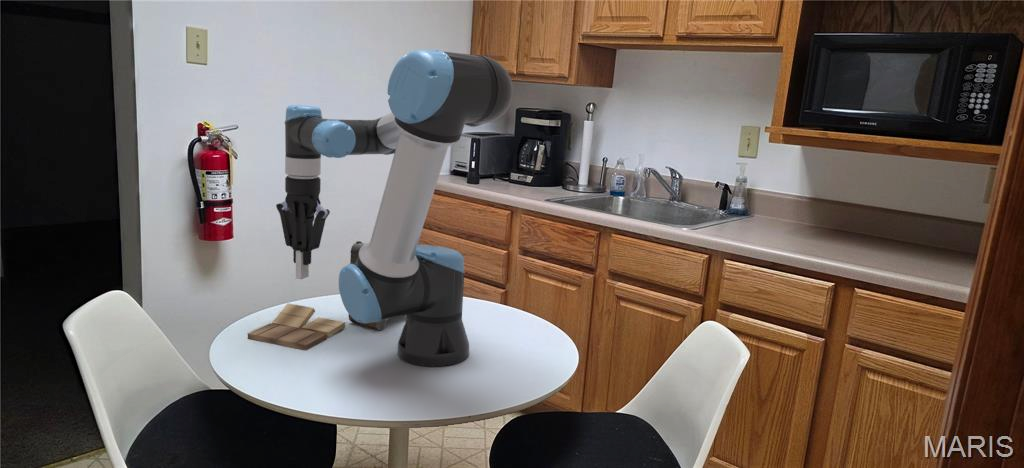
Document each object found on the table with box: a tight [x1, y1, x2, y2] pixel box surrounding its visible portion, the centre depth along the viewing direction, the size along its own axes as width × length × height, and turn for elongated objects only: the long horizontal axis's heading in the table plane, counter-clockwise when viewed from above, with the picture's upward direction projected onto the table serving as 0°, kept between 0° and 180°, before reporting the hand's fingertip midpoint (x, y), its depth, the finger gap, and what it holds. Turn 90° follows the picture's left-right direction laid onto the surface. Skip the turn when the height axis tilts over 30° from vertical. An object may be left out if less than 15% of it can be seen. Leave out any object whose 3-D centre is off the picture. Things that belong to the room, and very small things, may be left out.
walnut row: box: [247, 322, 328, 351], centre depth 147 cm, size 15×8×1 cm, turn 71°
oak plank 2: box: [301, 316, 346, 338], centre depth 153 cm, size 7×6×1 cm
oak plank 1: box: [271, 303, 316, 329], centre depth 154 cm, size 7×6×1 cm
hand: (302, 277), depth 154 cm, fingers closed
